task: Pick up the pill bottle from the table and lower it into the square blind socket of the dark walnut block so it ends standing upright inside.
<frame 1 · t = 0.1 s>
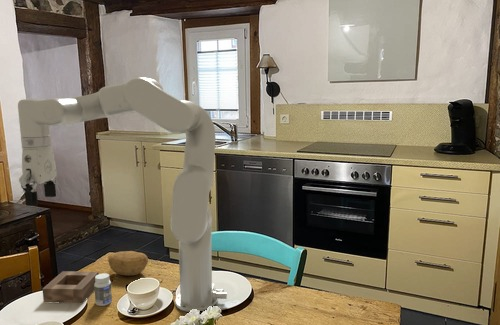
hand: (41, 200, 116), 31 cm above the table, tool pointing down, fingers open, 9 cm apart
potato: (128, 274, 139), on the table
socket block: (72, 293, 125), on the table
pill bottle: (103, 302, 120), on the table
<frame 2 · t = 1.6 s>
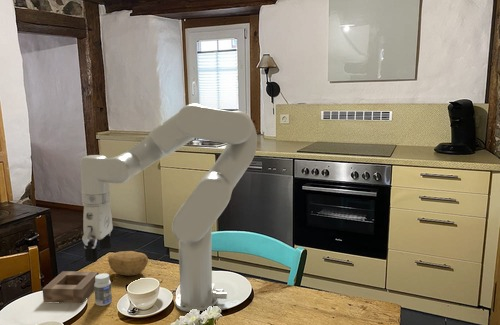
hand: (98, 254, 117), 15 cm above the table, tool pointing down, fingers open, 9 cm apart
nothing on the table moved.
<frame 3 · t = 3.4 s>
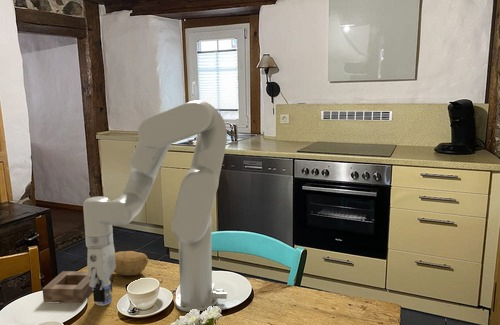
hand: (103, 296, 119), 2 cm above the table, tool pointing down, fingers closed on pill bottle, 4 cm apart
pill bottle: (103, 302, 120), on the table, touching gripper
everything else where it was.
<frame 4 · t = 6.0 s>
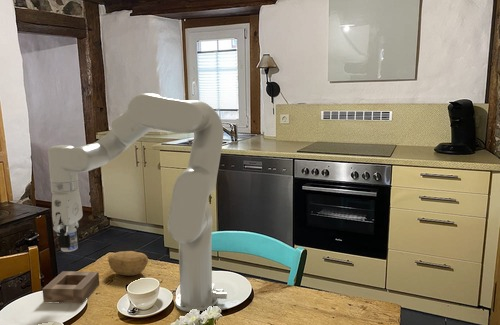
hand: (69, 243, 122), 17 cm above the table, tool pointing down, fingers closed on pill bottle, 4 cm apart
pill bottle: (69, 249, 123), point 14 cm above the table, touching gripper
everything else where it was.
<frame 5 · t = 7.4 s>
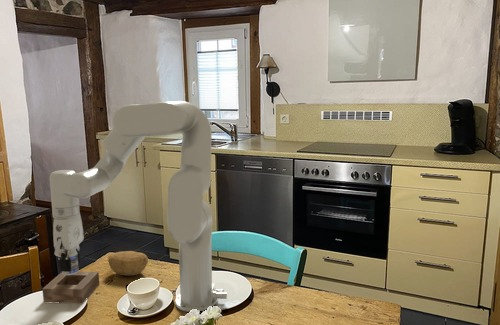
hand: (70, 266, 124), 9 cm above the table, tool pointing down, fingers closed on pill bottle, 4 cm apart
pill bottle: (70, 272, 124), point 7 cm above the table, touching gripper
everything else where it was.
when the fingers open (5 cm above the table, at t = 8.5 s): pill bottle drops 2 cm, resting on socket block.
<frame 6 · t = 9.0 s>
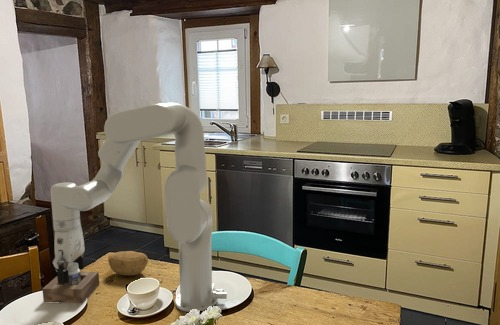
hand: (71, 275, 124), 6 cm above the table, tool pointing down, fingers open, 9 cm apart
pill bottle: (73, 290, 125), point 1 cm above the table, touching socket block
everything else where it was.
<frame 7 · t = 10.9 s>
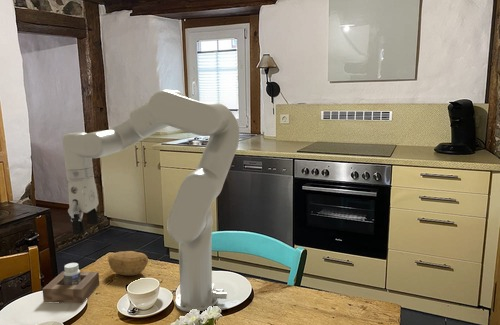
hand: (86, 228, 122), 21 cm above the table, tool pointing down, fingers open, 9 cm apart
nothing on the table moved.
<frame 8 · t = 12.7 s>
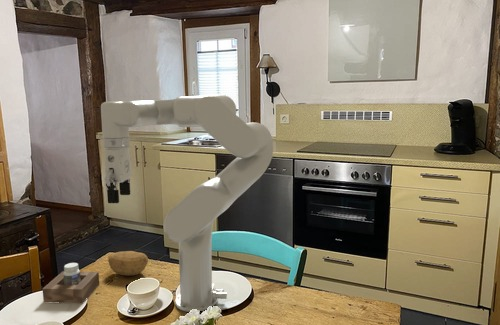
hand: (119, 198, 122), 30 cm above the table, tool pointing down, fingers open, 9 cm apart
nothing on the table moved.
at the end: pill bottle 0.2 cm off-centre on the socket block, point 0.8 cm above the socket block's base; pill bottle tilted 0°; the gripper is holding nothing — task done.
